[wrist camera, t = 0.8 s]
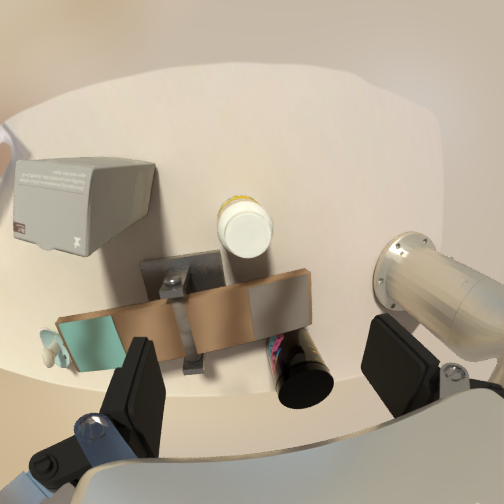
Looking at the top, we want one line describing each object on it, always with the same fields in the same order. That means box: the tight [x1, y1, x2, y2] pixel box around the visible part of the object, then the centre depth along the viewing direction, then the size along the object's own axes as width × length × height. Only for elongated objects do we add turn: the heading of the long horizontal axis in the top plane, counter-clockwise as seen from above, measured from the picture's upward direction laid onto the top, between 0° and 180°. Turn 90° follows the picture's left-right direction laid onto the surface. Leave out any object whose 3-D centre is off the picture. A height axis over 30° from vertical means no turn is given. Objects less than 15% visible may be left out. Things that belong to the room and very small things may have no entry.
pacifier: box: [40, 327, 70, 368], centre depth 32 cm, size 7×6×6 cm
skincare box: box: [13, 157, 155, 257], centre depth 22 cm, size 8×7×16 cm
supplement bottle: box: [217, 195, 273, 258], centre depth 28 cm, size 5×5×10 cm
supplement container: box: [266, 328, 334, 409], centre depth 33 cm, size 7×7×10 cm
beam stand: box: [140, 250, 225, 375], centre depth 31 cm, size 10×13×8 cm
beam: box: [55, 268, 312, 372], centre depth 29 cm, size 30×9×2 cm, turn 97°
